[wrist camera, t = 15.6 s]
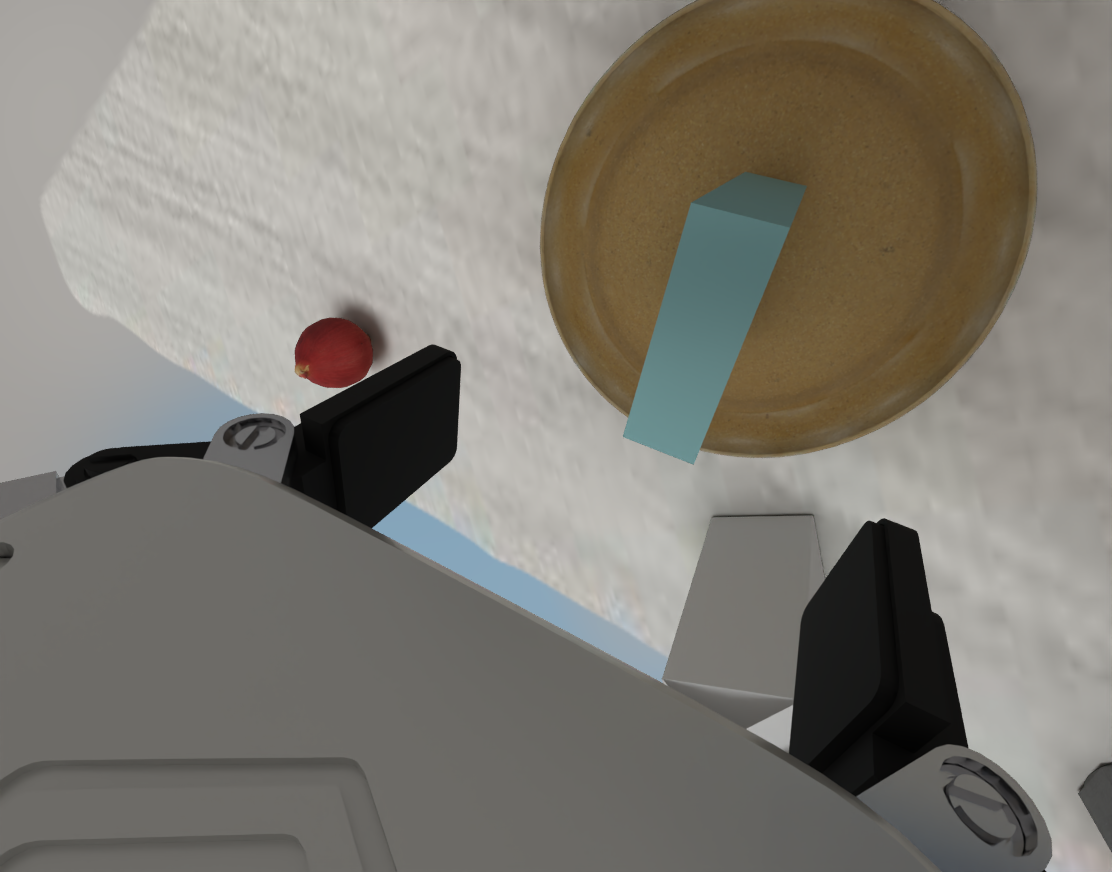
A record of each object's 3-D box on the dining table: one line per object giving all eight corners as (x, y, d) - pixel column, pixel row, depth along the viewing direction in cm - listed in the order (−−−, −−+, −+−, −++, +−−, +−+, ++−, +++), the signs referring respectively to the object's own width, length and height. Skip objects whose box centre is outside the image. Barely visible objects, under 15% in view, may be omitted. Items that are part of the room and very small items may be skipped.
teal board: (807, 186, 25) (789, 227, 15) (738, 353, 30) (693, 464, 20) (745, 171, 25) (690, 202, 16) (689, 337, 31) (622, 436, 21)
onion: (352, 367, 49) (282, 402, 43) (333, 307, 46) (255, 335, 40) (399, 370, 46) (333, 408, 40) (382, 307, 44) (307, 337, 37)
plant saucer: (1133, 275, 24) (1170, 294, 21) (713, 488, 39) (704, 514, 36) (811, -167, 21) (808, -207, 19) (498, 242, 37) (472, 251, 34)
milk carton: (730, 585, 42) (674, 834, 27) (711, 515, 40) (639, 747, 25) (827, 590, 38) (823, 881, 24) (813, 512, 36) (799, 785, 21)
